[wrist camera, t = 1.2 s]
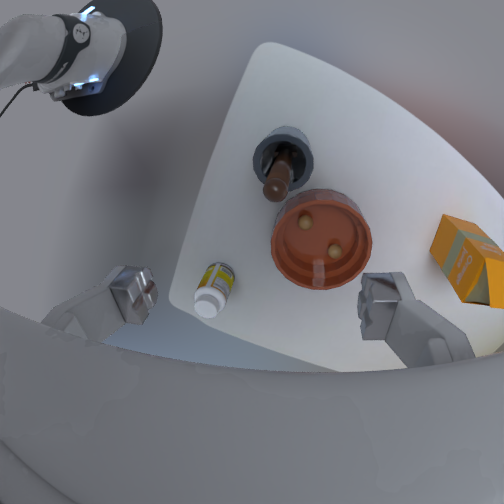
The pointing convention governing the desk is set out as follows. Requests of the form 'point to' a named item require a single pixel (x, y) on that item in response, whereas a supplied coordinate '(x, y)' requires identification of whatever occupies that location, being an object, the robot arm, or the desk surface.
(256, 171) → the crock
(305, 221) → the bead
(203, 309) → the supplement bottle
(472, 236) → the orange juice
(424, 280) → the desk surface
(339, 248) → the bead
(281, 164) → the stir paddle
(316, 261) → the bowl
